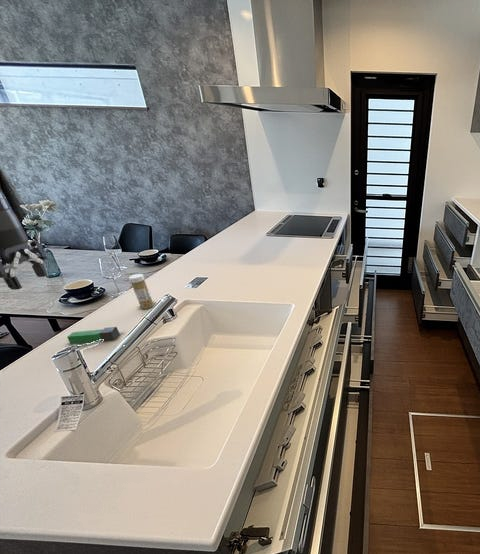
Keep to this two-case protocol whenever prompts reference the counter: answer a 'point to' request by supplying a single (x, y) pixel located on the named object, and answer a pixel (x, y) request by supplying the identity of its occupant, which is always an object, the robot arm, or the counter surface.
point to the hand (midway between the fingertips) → (30, 282)
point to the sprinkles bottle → (141, 291)
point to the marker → (94, 335)
